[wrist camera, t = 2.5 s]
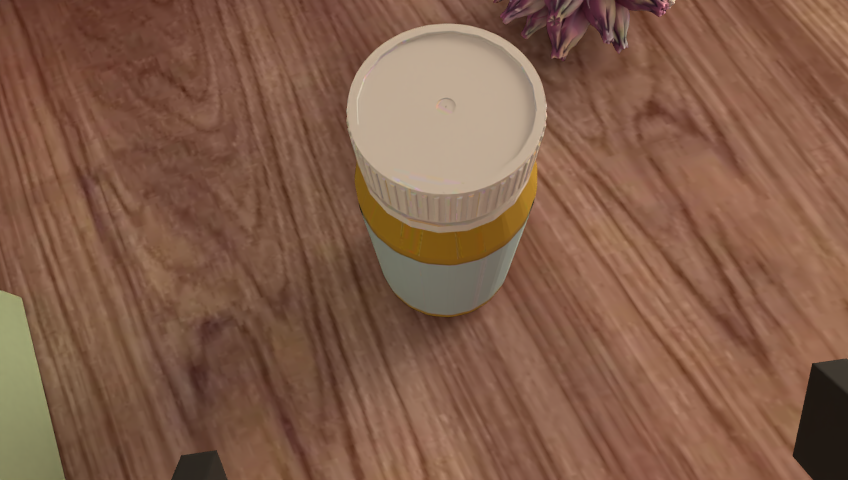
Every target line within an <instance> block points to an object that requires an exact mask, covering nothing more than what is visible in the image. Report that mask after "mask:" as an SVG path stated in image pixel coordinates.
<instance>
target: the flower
mask: <svg viewBox="0 0 848 480" xmlns="http://www.w3.org/2000/svg"><path fill="white" fill-rule="evenodd" d="M500 1H502V0H494V2H493V3H498V2H500ZM673 4H675V0H510V2H509V4H508V7H507V9H506V10H505V11H504V12H503V13H502V14H501V16H500V18H503V23H505V24H508V23H509V22H511V21H512V20H514V19H515V18H520V17H523V16H527V22H526V25H525V27H524V29H523V31H522V33H521V36H523V38H526V39H528V38H529V37H530V36H531V35H532V34H533V33H534V32H535V31H537V30H539V29H541V28H543V27H545V26H547V33H548V35H549V38H550V41H551V44H552V52H551V59H553V58H557V59H558V58H559V59H561V60H562V61H565V59H566V57H567V54H568V52H569V50H570V49H571V48H572V47H574V46H576V45H577V42H578V41H579V40H580V39H581V38H582V36H583V35H584V34H585V32H586V31H587V28H588V26H589V25H590V24H591V25H592V26H594V27H595V28H596V29H597V30H598V31H599V33H600V35H601V37H602V40H603V42H604V43H607V44H610V43H611V42H612V44H613V46H614V48H615V50H616V51H617V52H618V54H619V53H620V52H621V50H622V49H625V48H628V43H627V37H626V36H627V30H628V26H629V18H630V14H629V10H632V11H650V12H652V13H654V14H655V15H657V16H658V17H661V15H663V14H665V12H666V10H667V9H670V8H671V6H672V5H673Z"/></svg>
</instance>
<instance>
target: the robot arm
mask: <svg viewBox="0 0 848 480" xmlns="http://www.w3.org/2000/svg"><path fill="white" fill-rule="evenodd" d="M793 457H794V458H795V459H796V460H797V462H798V463H799V464H800V465H801V466H802V467H803V468H804V470H805V471H806V472H807V473H808V474H809V475H810V477H811V478H812V479H813V480H848V359H840V360H833V361H826V362H819V363H812V367H811V372H810V377H809V381H808V386H807V391H806V396H805V400H804V405H803V410H802V415H801V419H800V424H799V429H798V433H797V438H796V443H795V448H794V452H793ZM171 480H228V479H227V477H226V474H225V471H224V469H223V466H222V463H221V461H220V458H219V455H218V453H217V450H216V451H209V452H202V453H195V454H188V455H181V457H180V460H179V462H178V465H177V467H176V469H175V472H174V474H173V477H172V479H171Z"/></svg>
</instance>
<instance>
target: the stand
mask: <svg viewBox="0 0 848 480" xmlns="http://www.w3.org/2000/svg"><path fill="white" fill-rule="evenodd" d="M0 480H65V477H64V473H63V468H62V464H61V460H60V456H59V452H58V447H57V443H56V439H55V435H54V431H53V427H52V422H51V418H50V414H49V410H48V406H47V402H46V397H45V393H44V389H43V385H42V381H41V376H40V372H39V368H38V364H37V360H36V356H35V351H34V347H33V343H32V339H31V335H30V331H29V326H28V322H27V318H26V314H25V310H24V305H23V301H22V298H21V297H19V296H16V295H13V294H10V293H7V292H4V291H1V290H0Z"/></svg>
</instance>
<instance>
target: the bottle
mask: <svg viewBox="0 0 848 480" xmlns="http://www.w3.org/2000/svg"><path fill="white" fill-rule="evenodd" d="M545 98H546V97H545V93H544V89H543V86H542V83H541V80H540V78H539V76H538V74H537V72H536V70H535V68H534V67H533V65H532V64H531V63H530V61H529V60H528V59H527V58H526V56H525V55H524V54H523V53H522V52H521V51H520V50H518V49H517V48H516V47H515V46H514V45H512V44H511V43H510V42H508V41H507V40H505V39H503V38H502V37H500V36H498V35H496V34H494V33H491V32H489V31H486V30H483V29H480V28H477V27H473V26H468V25H461V24H434V25H427V26H422V27H418V28H415V29H411V30H409V31H406V32H403V33H401V34H399V35H397V36H395V37H393V38H391V39H390V40H388V41H387V42H385V43H384V44H382V45H381V46H380V47H378V48H377V49H376V50H375V51H374V52H373V53H372V54H371V55H370V56H369V57H368V58H367V59H366V60H365V62H364V63H363V64H362V66H361V67H360V69H359V70H358V72H357V74H356V76H355V78H354V80H353V82H352V85H351V88H350V92H349V96H348V101H347V109H346V113H347V116H348V117H347V119H346V120H347V125H348V132H349V135H350V139H351V142H352V146H353V149H354V152H355V156H356V159H357V163H356V170H355V187H356V191H357V196H358V201H359V206H360V210H361V213H362V215H363V218H364V221H365V224H366V227H367V229H368V232H369V235H370V238H371V241H372V243H373V246H374V249H375V252H376V255H377V257H378V260H379V263H380V266H381V269H382V272H383V274H384V277H385V278H386V280H387V282H388V283H389V285H390V287H391V289H392V290H393V292H394V293H395V294H396V296H397V297H399V298H400V299H401V300H402V301H403V302H404V303H406V304H407V305H408V306H409V307H411V308H413V309H415V310H417V311H420V312H422V313H424V314H427V315H431V316H440V317H454V316H458V315H463V314H467V313H470V312H472V311H474V310H476V309H478V308H479V307H481V306H483V305H484V304H486V303H487V302H488V301H489V300H491V298H492V297H493V296H494V295H495V294H496V292H497V291H498V290H499V289H500V287H501V286H502V284H503V282H504V280H505V278H506V275H507V273H508V270H509V268H510V265H511V262H512V259H513V257H514V254H515V251H516V249H517V246H518V243H519V241H520V238H521V235H522V232H523V230H524V227H525V224H526V222H527V219H528V216H529V214H530V211H531V208H532V206H533V203H534V199H535V195H536V190H537V164H536V157H537V154H538V151H539V148H540V145H541V142H542V139H543V136H544V131H545V128H546V118H547V113H546V108H547V104H546V99H545Z"/></svg>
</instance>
